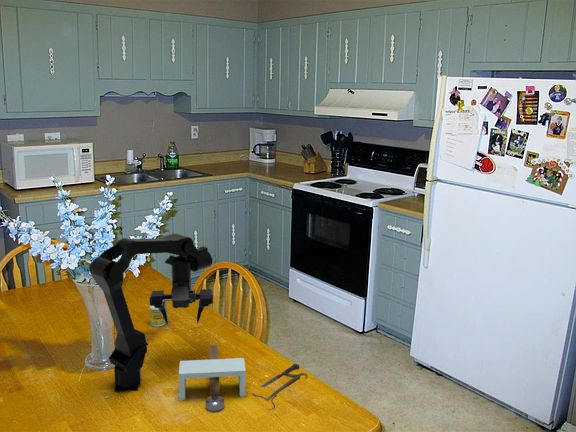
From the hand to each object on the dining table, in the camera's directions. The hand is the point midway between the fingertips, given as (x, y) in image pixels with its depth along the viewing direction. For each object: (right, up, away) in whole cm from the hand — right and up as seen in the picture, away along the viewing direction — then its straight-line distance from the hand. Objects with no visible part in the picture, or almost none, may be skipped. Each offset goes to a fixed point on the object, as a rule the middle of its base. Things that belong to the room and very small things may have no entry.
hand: (182, 323), depth 168 cm
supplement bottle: (-14, -6, +27) cm, 30 cm away
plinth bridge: (+11, -16, -14) cm, 25 cm away
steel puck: (+13, -18, -22) cm, 31 cm away
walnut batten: (+11, -15, -7) cm, 19 cm away
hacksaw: (+31, -17, -11) cm, 37 cm away
